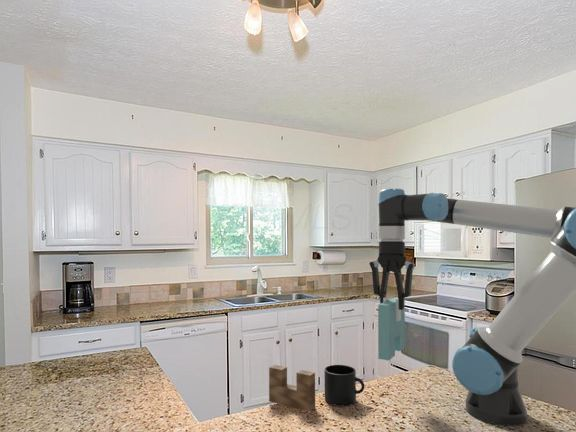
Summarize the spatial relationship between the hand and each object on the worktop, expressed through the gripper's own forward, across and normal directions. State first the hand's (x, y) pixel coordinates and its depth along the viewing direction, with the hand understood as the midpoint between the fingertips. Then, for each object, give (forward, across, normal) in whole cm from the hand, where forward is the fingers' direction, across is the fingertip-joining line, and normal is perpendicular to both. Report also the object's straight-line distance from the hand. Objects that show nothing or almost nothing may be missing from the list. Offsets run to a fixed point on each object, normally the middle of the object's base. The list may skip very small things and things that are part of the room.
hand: (392, 319), depth 115 cm
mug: (+25, +14, +4) cm, 29 cm away
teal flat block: (+10, 0, 0) cm, 10 cm away
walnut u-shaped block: (+25, +26, +15) cm, 39 cm away
